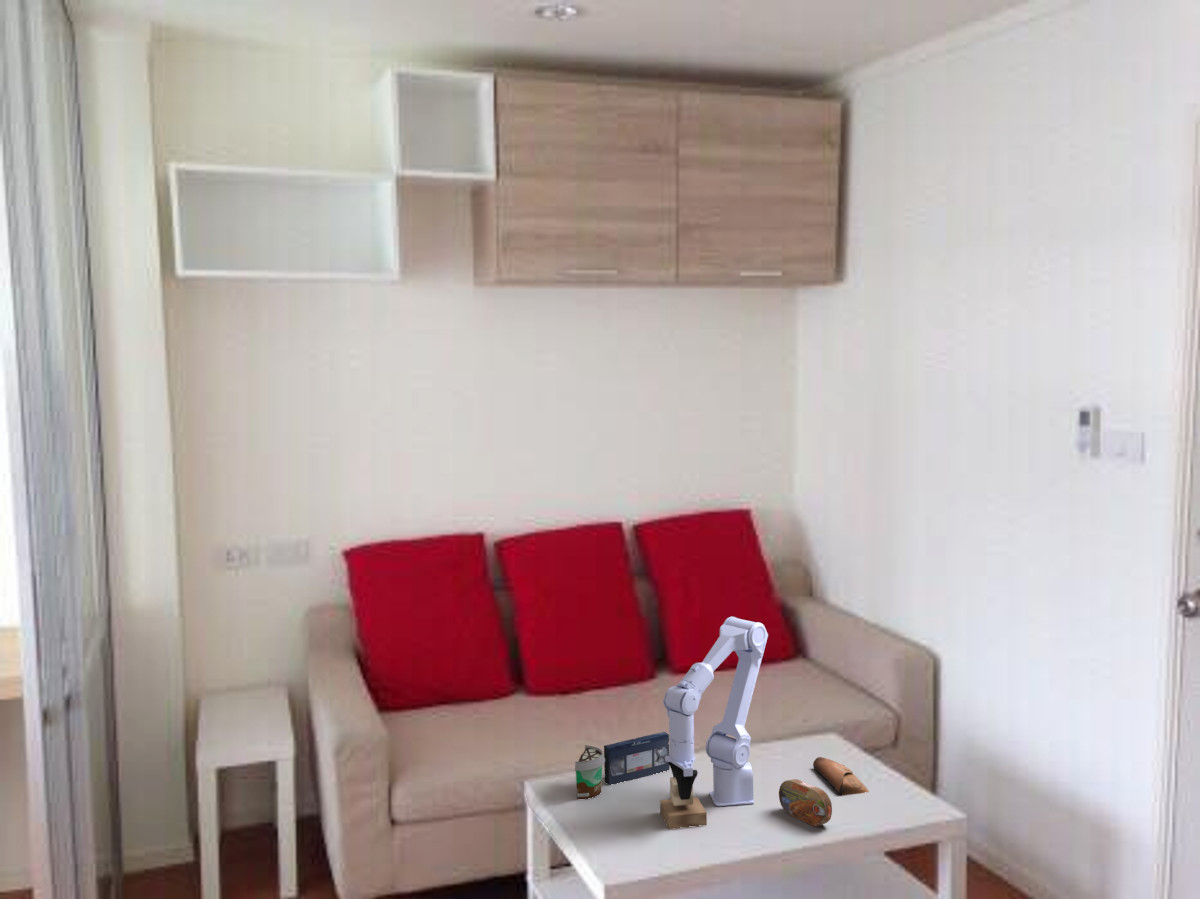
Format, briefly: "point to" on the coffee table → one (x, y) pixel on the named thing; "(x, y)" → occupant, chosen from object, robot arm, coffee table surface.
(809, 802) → the tin
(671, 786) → the maple cube
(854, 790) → the sunglasses case
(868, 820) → the coffee table surface
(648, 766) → the vhs cassette tape
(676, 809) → the tan flat block
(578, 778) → the food container
